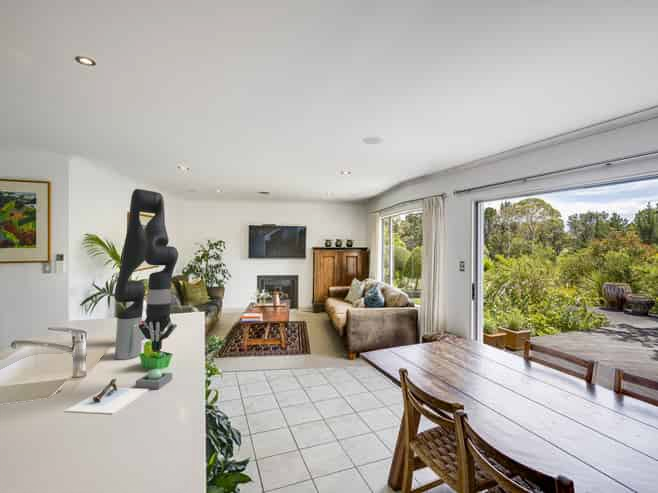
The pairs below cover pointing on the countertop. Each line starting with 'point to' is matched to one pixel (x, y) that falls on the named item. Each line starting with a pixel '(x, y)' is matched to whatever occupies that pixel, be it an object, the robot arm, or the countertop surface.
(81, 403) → the paper sheet
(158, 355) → the fruit basket
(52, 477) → the countertop surface
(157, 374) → the button
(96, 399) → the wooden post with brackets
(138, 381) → the button housing
